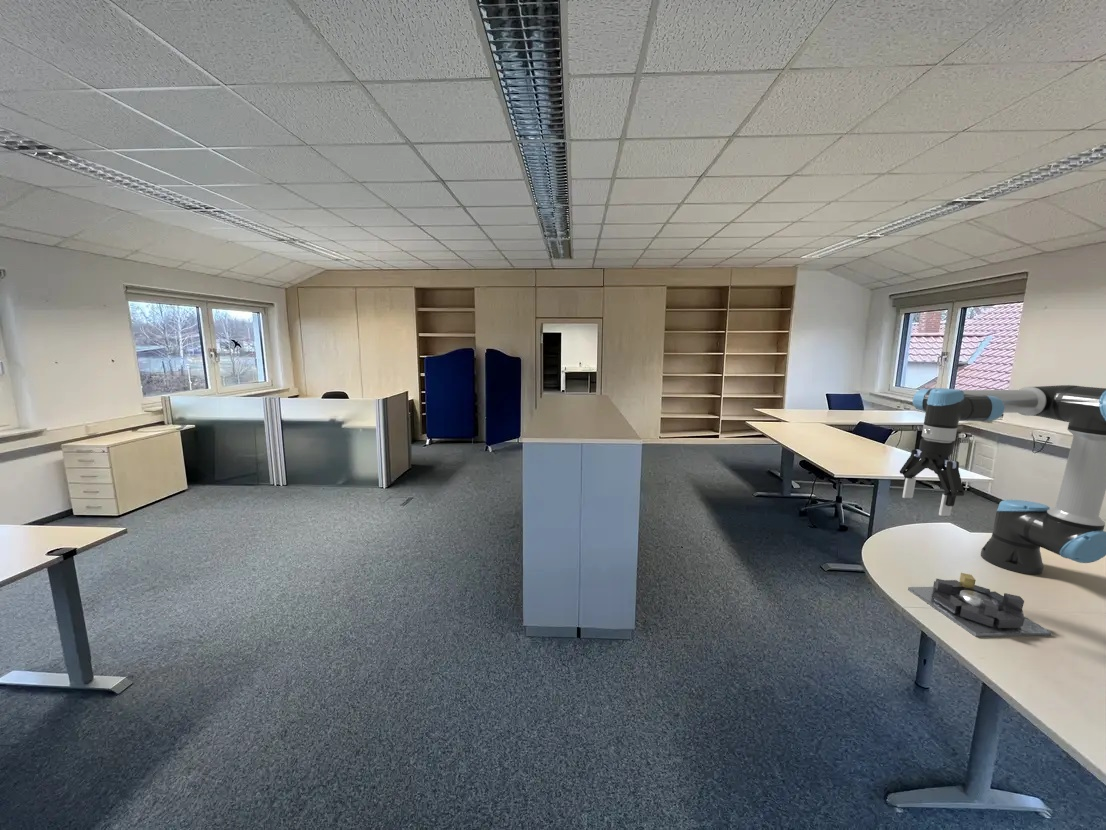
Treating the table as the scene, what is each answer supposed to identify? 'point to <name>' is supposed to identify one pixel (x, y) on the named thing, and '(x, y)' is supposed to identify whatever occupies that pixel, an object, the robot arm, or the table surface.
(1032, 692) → the table surface
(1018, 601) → the octagonal block ring
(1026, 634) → the base plate
